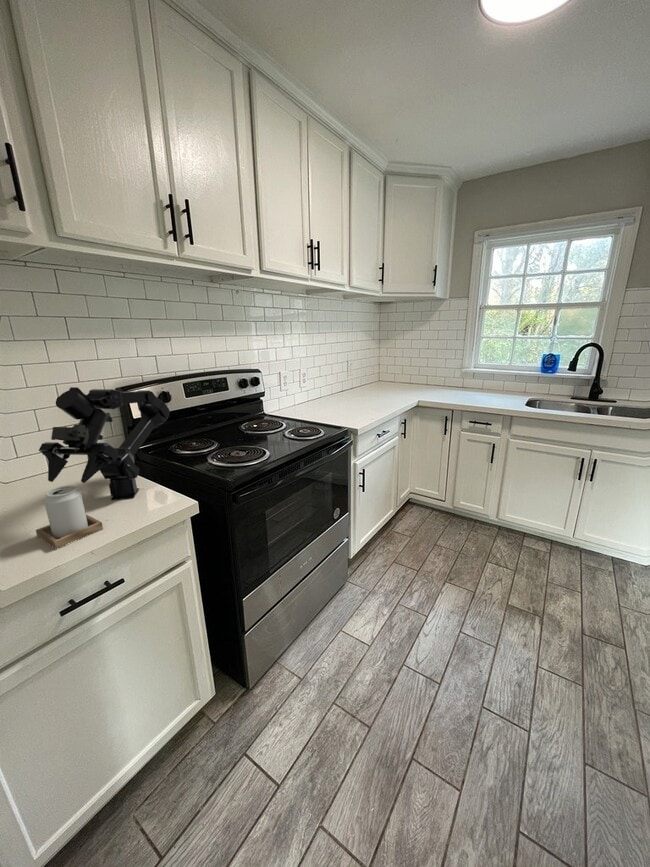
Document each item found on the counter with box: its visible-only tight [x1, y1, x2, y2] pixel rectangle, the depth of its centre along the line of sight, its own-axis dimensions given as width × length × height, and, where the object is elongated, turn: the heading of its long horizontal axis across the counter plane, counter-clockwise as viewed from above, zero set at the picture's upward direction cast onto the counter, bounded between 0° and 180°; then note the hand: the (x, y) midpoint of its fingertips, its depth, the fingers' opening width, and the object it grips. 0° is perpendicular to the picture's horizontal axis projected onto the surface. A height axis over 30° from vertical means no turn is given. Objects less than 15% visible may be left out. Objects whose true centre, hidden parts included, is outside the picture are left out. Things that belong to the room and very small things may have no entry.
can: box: [43, 485, 89, 539], centre depth 89 cm, size 8×8×12 cm
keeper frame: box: [35, 514, 104, 550], centre depth 90 cm, size 11×11×2 cm
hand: (66, 481), depth 89 cm, fingers open, 9 cm apart
